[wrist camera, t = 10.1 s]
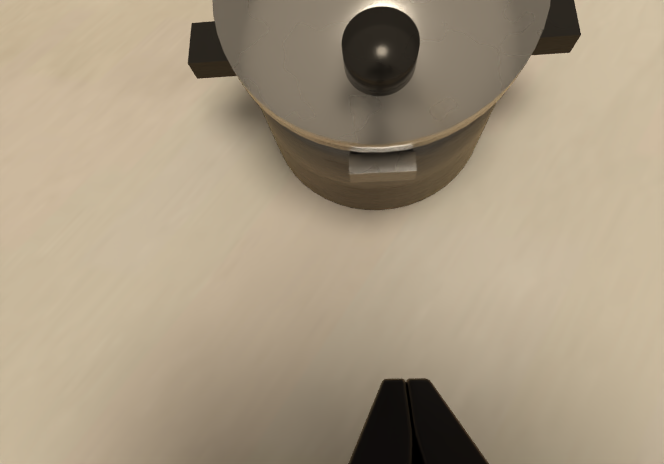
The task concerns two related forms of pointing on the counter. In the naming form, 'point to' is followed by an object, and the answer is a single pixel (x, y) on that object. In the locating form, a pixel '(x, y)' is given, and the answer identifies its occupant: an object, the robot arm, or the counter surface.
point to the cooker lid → (378, 64)
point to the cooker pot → (378, 167)
